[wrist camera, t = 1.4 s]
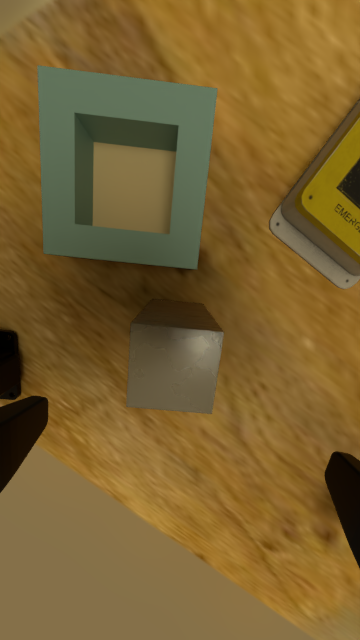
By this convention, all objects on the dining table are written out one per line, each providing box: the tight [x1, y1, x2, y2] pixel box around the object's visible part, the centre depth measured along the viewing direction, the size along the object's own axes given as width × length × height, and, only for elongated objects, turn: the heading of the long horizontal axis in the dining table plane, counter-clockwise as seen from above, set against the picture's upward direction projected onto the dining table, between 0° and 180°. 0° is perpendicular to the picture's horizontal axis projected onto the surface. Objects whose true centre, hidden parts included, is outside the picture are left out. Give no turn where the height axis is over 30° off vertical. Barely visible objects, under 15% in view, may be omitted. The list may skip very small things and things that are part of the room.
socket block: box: [38, 66, 217, 269], centre depth 15 cm, size 10×10×4 cm
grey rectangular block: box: [126, 299, 224, 414], centre depth 15 cm, size 4×4×9 cm
